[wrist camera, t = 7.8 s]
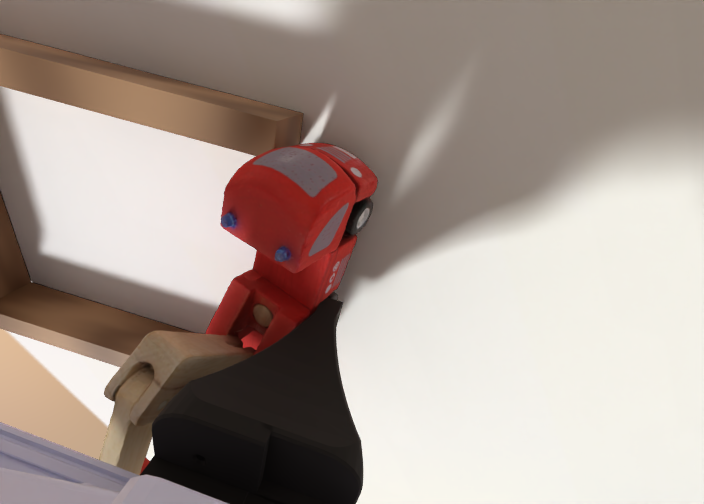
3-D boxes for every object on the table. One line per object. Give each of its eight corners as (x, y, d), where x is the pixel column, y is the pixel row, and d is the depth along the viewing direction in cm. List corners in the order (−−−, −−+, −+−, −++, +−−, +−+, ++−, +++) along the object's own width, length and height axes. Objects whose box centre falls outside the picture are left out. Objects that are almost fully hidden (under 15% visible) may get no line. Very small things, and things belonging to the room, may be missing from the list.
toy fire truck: (393, 165, 11) (57, 290, 3) (300, 395, 18) (120, 612, 10) (314, 127, 12) (-104, 152, 4) (254, 360, 19) (56, 536, 11)
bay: (303, 113, 12) (254, 127, 8) (269, 371, 19) (235, 436, 15) (-87, 11, 13) (-275, -14, 9) (18, 292, 20) (-67, 337, 16)
